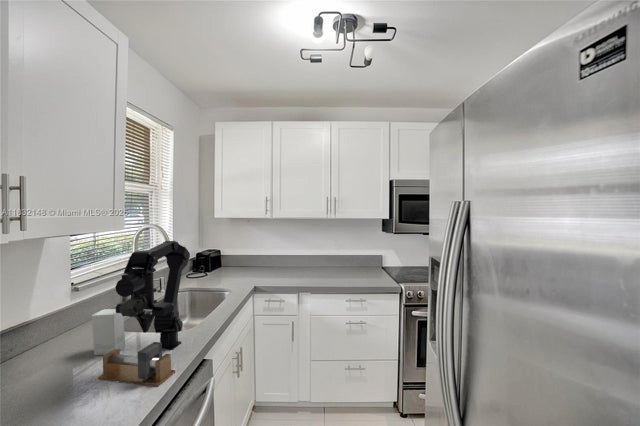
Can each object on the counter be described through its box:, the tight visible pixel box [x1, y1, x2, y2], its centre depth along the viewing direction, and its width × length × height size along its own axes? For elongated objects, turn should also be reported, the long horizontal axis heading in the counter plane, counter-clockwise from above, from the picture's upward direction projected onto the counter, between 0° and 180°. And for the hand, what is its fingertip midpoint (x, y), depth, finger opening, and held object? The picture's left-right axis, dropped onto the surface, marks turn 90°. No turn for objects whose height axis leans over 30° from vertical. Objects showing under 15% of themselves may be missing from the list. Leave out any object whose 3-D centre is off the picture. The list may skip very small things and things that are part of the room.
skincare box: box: [91, 308, 126, 356], centre depth 116 cm, size 8×7×16 cm
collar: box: [137, 341, 163, 379], centre depth 98 cm, size 3×7×8 cm, turn 169°
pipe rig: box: [97, 349, 176, 388], centre depth 99 cm, size 22×8×7 cm, turn 79°
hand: (145, 332), depth 105 cm, fingers closed
